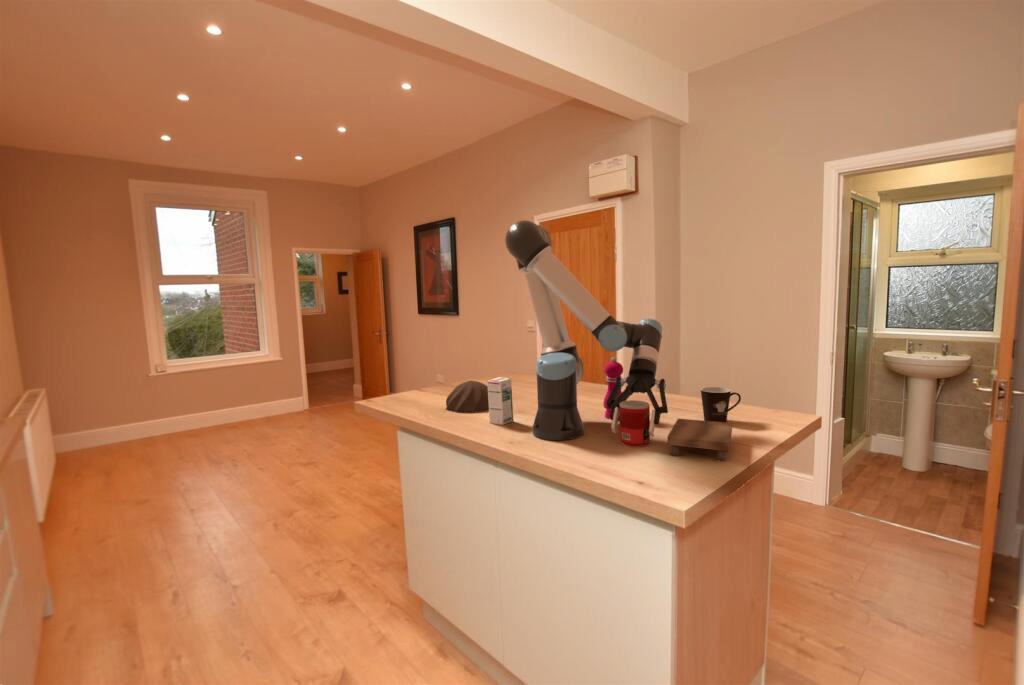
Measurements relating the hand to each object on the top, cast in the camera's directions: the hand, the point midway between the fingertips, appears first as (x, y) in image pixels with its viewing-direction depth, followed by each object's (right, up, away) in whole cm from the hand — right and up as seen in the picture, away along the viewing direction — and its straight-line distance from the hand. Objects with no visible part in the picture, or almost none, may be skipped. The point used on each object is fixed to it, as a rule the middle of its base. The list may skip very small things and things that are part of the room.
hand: (631, 431), depth 130 cm
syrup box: (-36, -2, +29) cm, 46 cm away
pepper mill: (+2, -1, +30) cm, 30 cm away
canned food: (+2, -4, +3) cm, 5 cm away
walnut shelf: (+17, -4, -4) cm, 18 cm away
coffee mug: (+32, -1, +20) cm, 38 cm away
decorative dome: (-48, 0, +53) cm, 71 cm away
